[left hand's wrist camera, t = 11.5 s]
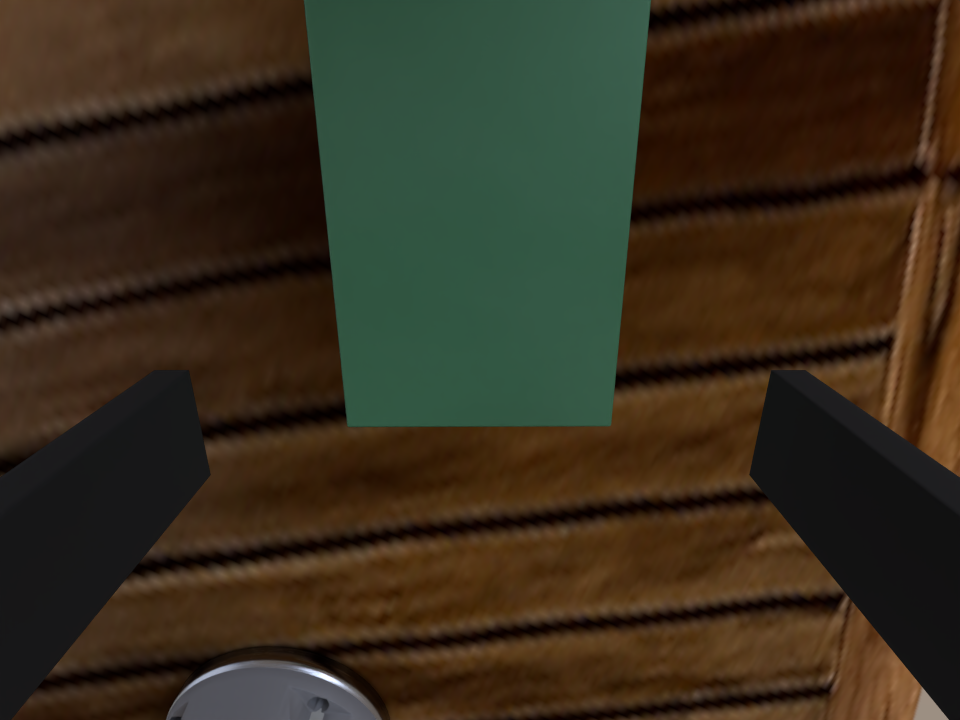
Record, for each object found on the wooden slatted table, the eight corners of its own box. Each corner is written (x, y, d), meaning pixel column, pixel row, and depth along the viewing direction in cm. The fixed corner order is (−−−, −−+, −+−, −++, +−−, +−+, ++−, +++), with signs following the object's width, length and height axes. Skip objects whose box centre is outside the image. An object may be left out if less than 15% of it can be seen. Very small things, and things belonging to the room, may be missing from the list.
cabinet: (368, 48, 24) (301, -10, 15) (588, 47, 24) (652, -11, 15) (387, 340, 29) (346, 428, 20) (570, 340, 29) (611, 427, 20)
